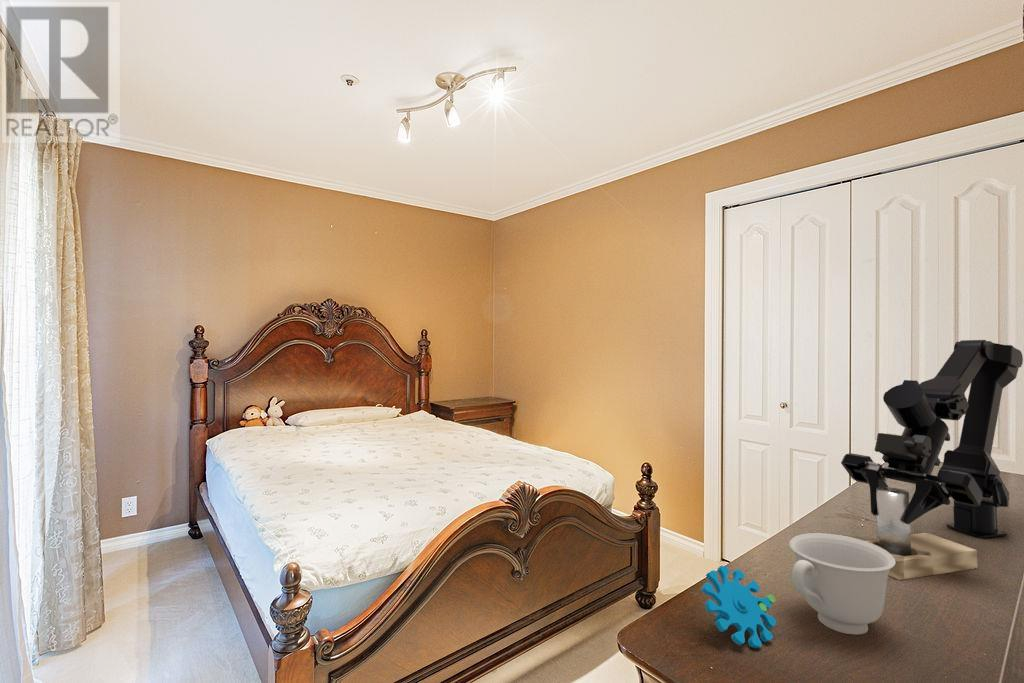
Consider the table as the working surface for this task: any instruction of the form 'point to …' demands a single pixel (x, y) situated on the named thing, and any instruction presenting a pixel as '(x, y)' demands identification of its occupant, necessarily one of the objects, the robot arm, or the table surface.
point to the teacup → (841, 579)
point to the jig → (931, 557)
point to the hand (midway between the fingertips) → (889, 518)
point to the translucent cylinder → (893, 521)
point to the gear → (739, 607)
